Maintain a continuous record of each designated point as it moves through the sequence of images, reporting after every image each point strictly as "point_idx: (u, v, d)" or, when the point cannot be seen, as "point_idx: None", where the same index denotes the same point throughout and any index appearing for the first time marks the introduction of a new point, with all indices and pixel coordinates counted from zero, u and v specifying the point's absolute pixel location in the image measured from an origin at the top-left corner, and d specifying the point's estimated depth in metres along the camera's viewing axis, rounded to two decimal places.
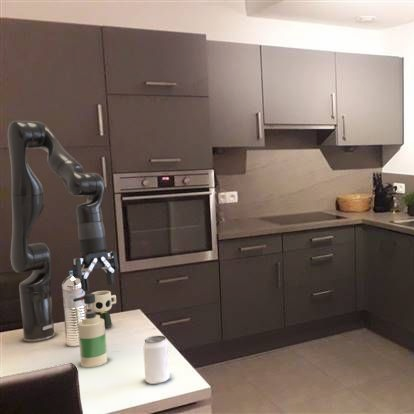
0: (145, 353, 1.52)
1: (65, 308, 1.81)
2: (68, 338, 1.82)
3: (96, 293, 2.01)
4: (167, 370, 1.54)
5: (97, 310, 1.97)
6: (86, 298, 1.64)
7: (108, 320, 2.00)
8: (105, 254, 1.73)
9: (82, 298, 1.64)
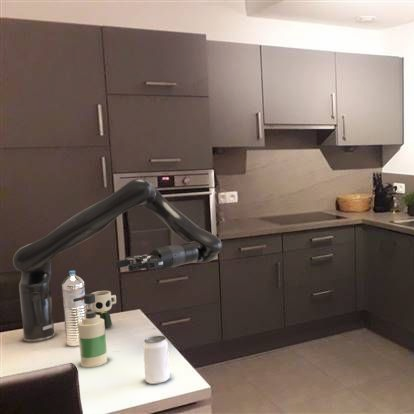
0: (145, 353, 1.52)
1: (65, 308, 1.81)
2: (68, 338, 1.82)
3: (96, 293, 2.01)
4: (167, 370, 1.54)
5: (97, 310, 1.97)
6: (86, 298, 1.64)
7: (108, 320, 2.00)
8: None
9: (82, 298, 1.64)
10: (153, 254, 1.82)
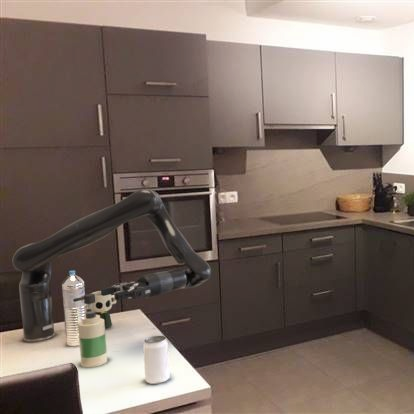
0: (145, 353, 1.52)
1: (65, 308, 1.81)
2: (68, 338, 1.82)
3: (96, 293, 2.01)
4: (167, 370, 1.54)
5: (97, 310, 1.97)
6: (86, 298, 1.64)
7: (108, 320, 2.00)
8: None
9: (82, 298, 1.64)
10: (140, 281, 1.80)
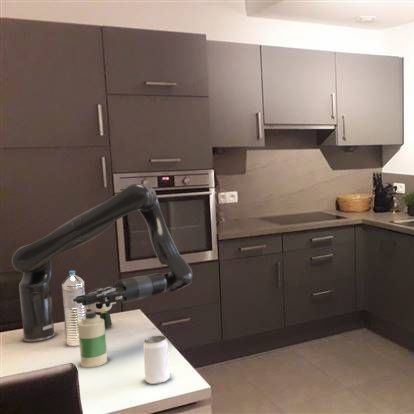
0: (145, 353, 1.52)
1: (65, 308, 1.81)
2: (68, 338, 1.82)
3: None
4: (167, 370, 1.54)
5: (97, 310, 1.97)
6: None
7: (108, 320, 2.00)
8: None
9: None
10: (118, 286, 1.74)
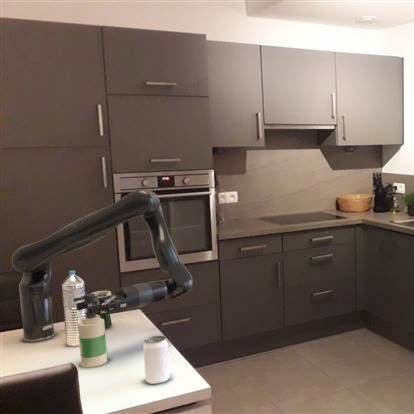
0: (145, 353, 1.52)
1: (65, 308, 1.81)
2: (68, 338, 1.82)
3: (96, 293, 2.01)
4: (167, 370, 1.54)
5: None
6: (86, 298, 1.64)
7: (108, 320, 2.00)
8: None
9: (82, 298, 1.64)
10: (118, 293, 1.74)
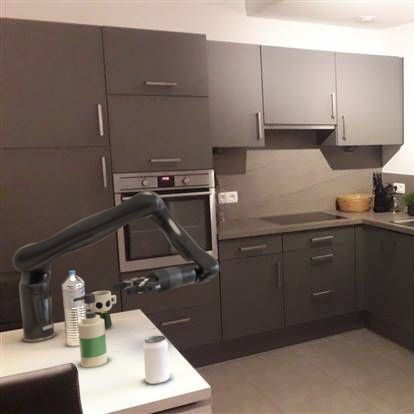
0: (145, 353, 1.52)
1: (65, 308, 1.81)
2: (68, 338, 1.82)
3: (96, 293, 2.01)
4: (167, 370, 1.54)
5: (97, 310, 1.97)
6: (86, 298, 1.64)
7: (108, 320, 2.00)
8: None
9: (82, 298, 1.64)
10: (150, 276, 1.82)
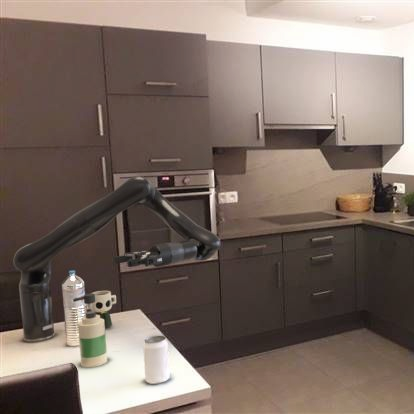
0: (145, 353, 1.52)
1: (65, 308, 1.81)
2: (68, 338, 1.82)
3: (96, 293, 2.01)
4: (167, 370, 1.54)
5: (97, 310, 1.97)
6: (86, 298, 1.64)
7: (108, 320, 2.00)
8: None
9: (82, 298, 1.64)
10: (152, 250, 1.83)
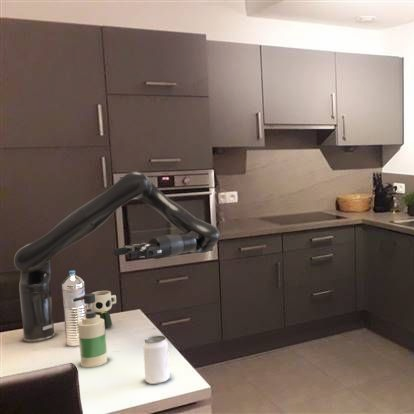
0: (145, 353, 1.52)
1: (65, 308, 1.81)
2: (68, 338, 1.82)
3: (96, 293, 2.01)
4: (167, 370, 1.54)
5: (97, 310, 1.97)
6: (86, 298, 1.64)
7: (108, 320, 2.00)
8: None
9: (82, 298, 1.64)
10: (152, 242, 1.84)
